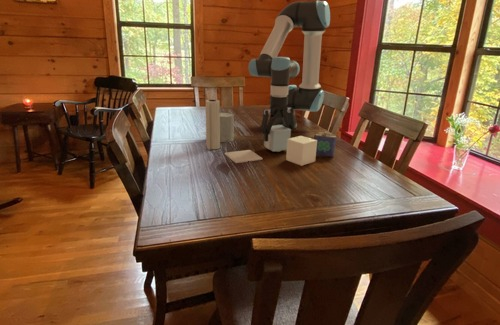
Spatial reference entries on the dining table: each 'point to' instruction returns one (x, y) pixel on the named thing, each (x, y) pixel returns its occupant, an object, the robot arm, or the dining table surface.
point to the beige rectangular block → (301, 150)
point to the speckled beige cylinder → (226, 127)
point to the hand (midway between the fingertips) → (276, 146)
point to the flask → (325, 145)
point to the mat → (243, 156)
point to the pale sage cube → (279, 138)
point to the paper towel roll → (212, 124)
